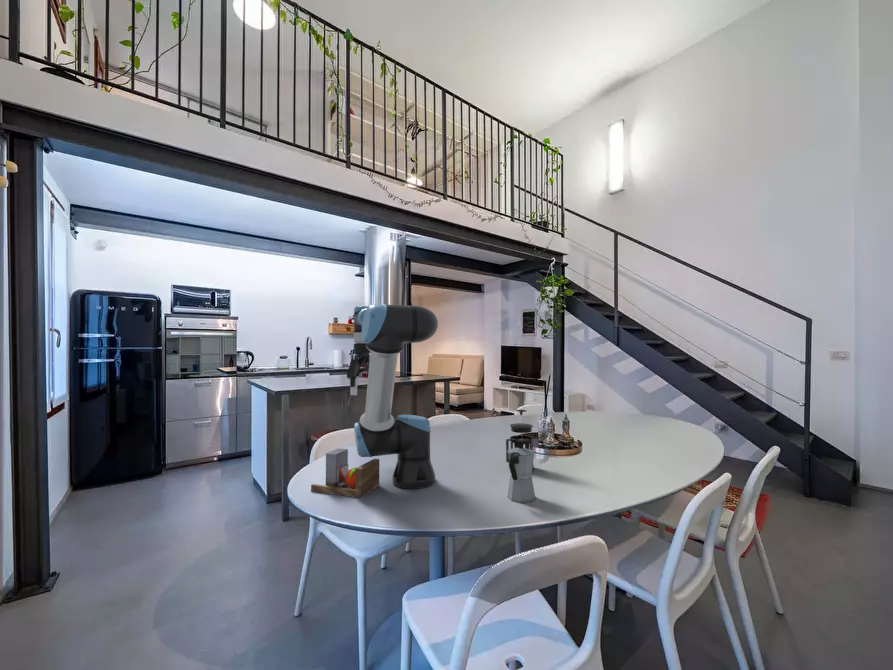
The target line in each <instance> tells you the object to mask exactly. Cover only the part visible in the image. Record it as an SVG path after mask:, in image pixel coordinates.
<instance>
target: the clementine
mask: <svg viewBox="0 0 893 670" xmlns="http://www.w3.org/2000/svg"><path fill="white" fill-rule="evenodd" d="M356 468H357V467H352V468H350V469H348V472H347V474H346V476H345V483H346V485H345V486H347V487H348V489H355V480H356Z"/></svg>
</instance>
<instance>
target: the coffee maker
mask: <svg viewBox="0 0 893 670" xmlns="http://www.w3.org/2000/svg"><path fill="white" fill-rule="evenodd" d="M524 440H525V439H522V440H521V439H518V440H517V444H518V448H515V447H513V449H511V448H509V450H508V458H509V463H508V467H509V472H510V476H509V484H508V490H507V496H506V497H507V498H508V499H509V500H510V501H511V502H516V503H519V504H524V503H525V504H526V503H532V502H534V500H535V499H536V495H535V493H536V492H535V488H534V482H533V476H531V475H532V474H533V471H532V468H533V467H534V457H535V453H534V450H530V448H529V449H526V448H525V447H524V445H525V444H524Z"/></svg>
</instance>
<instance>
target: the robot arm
mask: <svg viewBox="0 0 893 670" xmlns="http://www.w3.org/2000/svg"><path fill="white" fill-rule="evenodd" d="M438 326H439V322H438V318H437V316H436V314H435V313H434V312H433V311H432V310H430V309H429V308H426V307H424V306H419V305H405V304H404V305H403V304H402V305H401V304H400V305H399V304H386V303H382V304H371V305H368V306H367V305H358V306H355V307H354V308H353V342H354V343H353V352H354V353H356V354H351V356H350V357H351V358H350V363H349V367H348V370H347V374H346V378H347V379H348V380H350V382H349V385H350V386H349V387H350V388H349V390H350V393H349V394H350V396H358V378H357V377H358V375H359V373H360V369H361V367H363V366H364V368H365V371H366V373H367V387H366V397H365V398H366V399H365V409H364V412H363V414H362V415H360V418H359V421H358V422H355V423H354V424H353V429H354V438H355V440H354V441H355V448H356V452H357V455H358V456H359V457H360V458H372V457H380V456H381V457H382V456H391V455H397V461H396V463H395V468H394V471H393V473H392V484H393V486H395V487H397V488H401V489H407V490H408V489H409V490H415V489H424V488H427V487H430V486H432V485H434V484H435V482H436V474H435V470H434V467H433V464H432V461H431V424H430V420H429V419H428V418H427V417H425V416H420V415H413V414H399V415H397V417H396V419H395V418H394V416H393V415H392V409H393V408H392V407H393V399H394V398H393V397H394V390H395V383H396V382H395V381H396V373H397V365H398V357H399V356H398V355H399V354H401V352H403V351H404V346H405V344H417V343H422V342H425V341H427V340H429V339H431V338H432V337H433V336H434V335H435V334H436V332H437V330H438V328H439V327H438Z"/></svg>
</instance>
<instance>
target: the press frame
mask: <svg viewBox="0 0 893 670" xmlns="http://www.w3.org/2000/svg"><path fill="white" fill-rule="evenodd" d="M355 468H356V480H355V489H351V488H349V487H348V488H346V487H342V488H340V487H333V486H326V484H325V485H323V484H318V483H317V484H316V483H312V484H310V491H311V492H314V491H315V492H316V493H322V492H324V494H329V493H333V494H332V495H336V494H340V495H339V496H344V495H347V496H346V497H351V496H354V497H353V498H358V497H361V498H362V496H363V497H364V496H366V495H367V494H368V492H369V491H370V492H372V491H373V490H375V489H376V488H378V487H379V486H380V458H373V459H371V460H369V461H367V462H365V463H363V464H361V465H360V466H357V467H355ZM378 485H379V486H378ZM375 487H376V488H375ZM374 488H375V489H374ZM372 489H373V490H372ZM371 490H372V491H371ZM370 492H369V493H370ZM365 494H366V495H365Z"/></svg>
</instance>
